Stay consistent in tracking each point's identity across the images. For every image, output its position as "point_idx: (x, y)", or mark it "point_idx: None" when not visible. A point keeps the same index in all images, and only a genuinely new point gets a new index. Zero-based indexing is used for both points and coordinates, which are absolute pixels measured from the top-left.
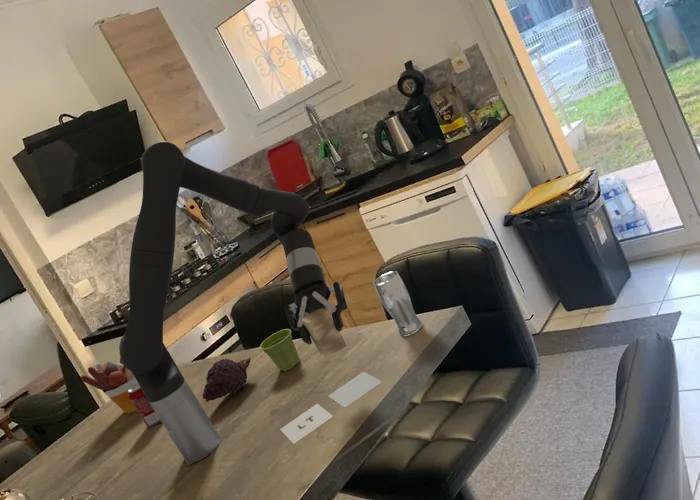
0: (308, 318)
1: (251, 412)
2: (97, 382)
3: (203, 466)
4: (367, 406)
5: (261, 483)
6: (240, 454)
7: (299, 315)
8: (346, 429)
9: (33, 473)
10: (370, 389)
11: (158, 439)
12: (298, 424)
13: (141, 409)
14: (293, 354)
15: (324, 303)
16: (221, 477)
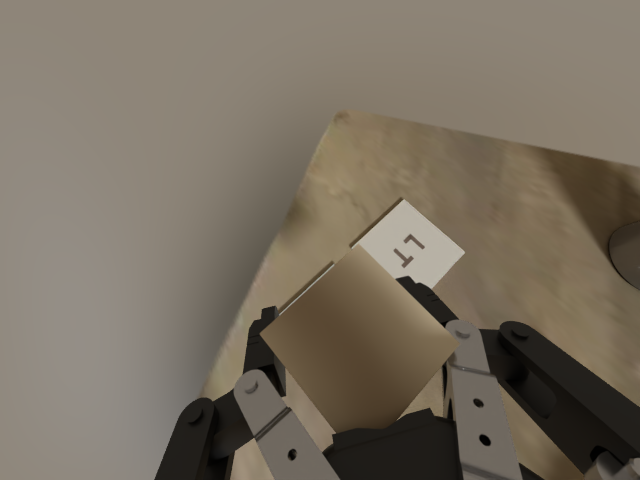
0: (391, 315)
1: (617, 364)
2: None
3: (593, 208)
4: (288, 255)
5: (419, 138)
6: (520, 215)
7: (488, 373)
8: (312, 207)
9: None
10: (291, 303)
11: None
12: (424, 251)
13: None
14: None
15: (288, 428)
16: (517, 169)
